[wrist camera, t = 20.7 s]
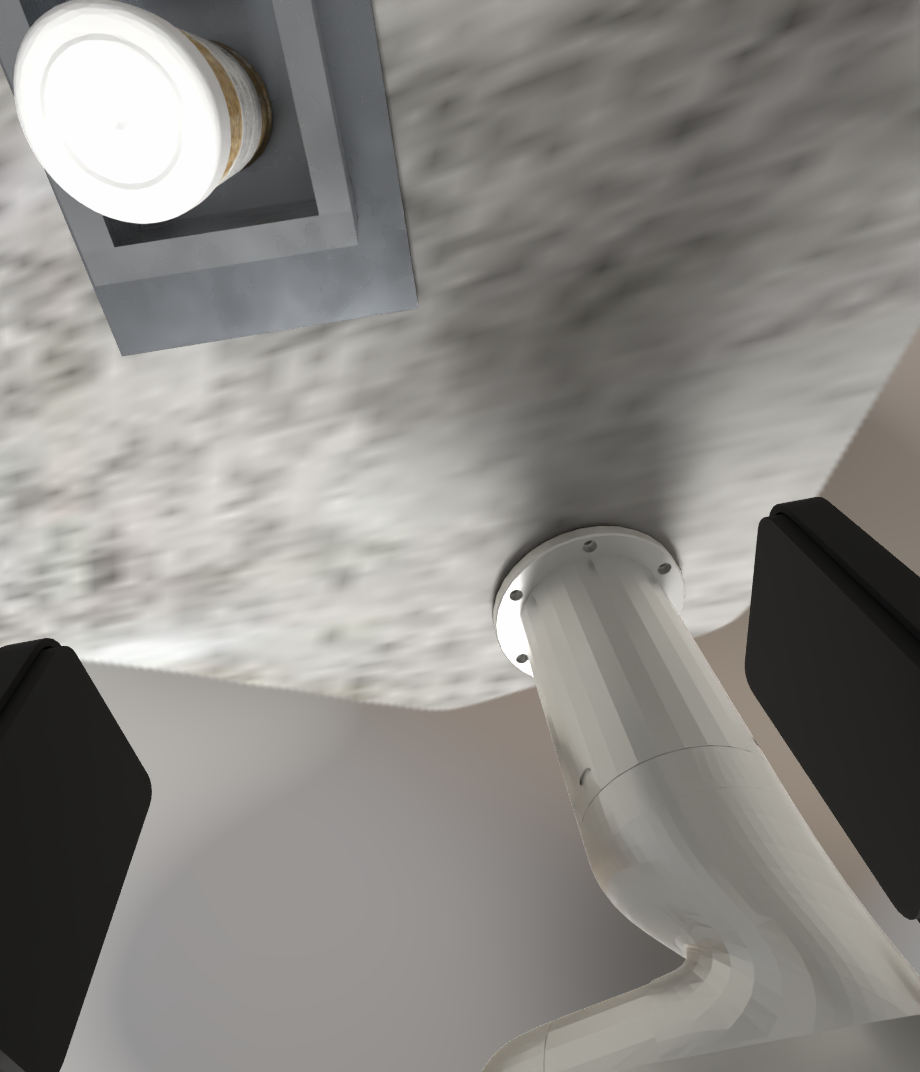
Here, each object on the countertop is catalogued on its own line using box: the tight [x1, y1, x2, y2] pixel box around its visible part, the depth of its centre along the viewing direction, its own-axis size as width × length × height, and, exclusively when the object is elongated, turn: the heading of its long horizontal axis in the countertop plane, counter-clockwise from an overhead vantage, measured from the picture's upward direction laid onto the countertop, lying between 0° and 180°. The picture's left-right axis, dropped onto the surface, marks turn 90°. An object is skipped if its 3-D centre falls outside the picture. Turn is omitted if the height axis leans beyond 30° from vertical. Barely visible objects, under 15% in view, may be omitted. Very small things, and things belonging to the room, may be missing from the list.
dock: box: [0, 0, 418, 356], centre depth 24 cm, size 18×14×8 cm
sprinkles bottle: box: [13, 0, 272, 224], centre depth 21 cm, size 5×4×13 cm
